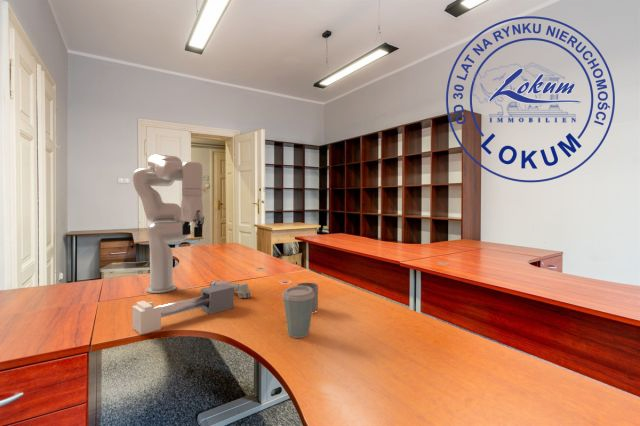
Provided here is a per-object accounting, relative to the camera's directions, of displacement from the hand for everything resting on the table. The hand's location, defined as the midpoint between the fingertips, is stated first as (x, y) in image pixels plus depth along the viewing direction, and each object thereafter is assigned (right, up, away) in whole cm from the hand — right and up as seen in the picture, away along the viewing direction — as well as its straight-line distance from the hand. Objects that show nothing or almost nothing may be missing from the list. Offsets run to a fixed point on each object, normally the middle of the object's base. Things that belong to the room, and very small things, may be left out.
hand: (192, 235), depth 127 cm
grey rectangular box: (+11, -29, -2) cm, 31 cm away
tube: (+1, -27, -14) cm, 30 cm away
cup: (+46, -30, -1) cm, 55 cm away
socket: (-6, -29, -21) cm, 37 cm away
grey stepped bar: (+10, -28, +19) cm, 35 cm away
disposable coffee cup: (+44, -31, -23) cm, 59 cm away
